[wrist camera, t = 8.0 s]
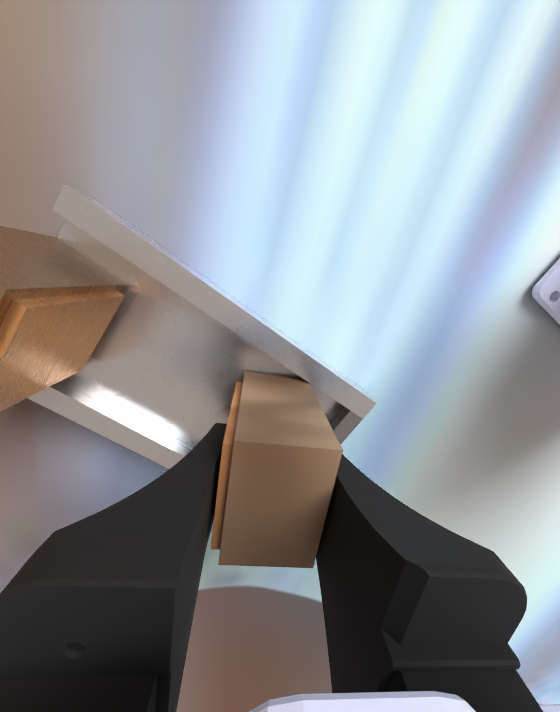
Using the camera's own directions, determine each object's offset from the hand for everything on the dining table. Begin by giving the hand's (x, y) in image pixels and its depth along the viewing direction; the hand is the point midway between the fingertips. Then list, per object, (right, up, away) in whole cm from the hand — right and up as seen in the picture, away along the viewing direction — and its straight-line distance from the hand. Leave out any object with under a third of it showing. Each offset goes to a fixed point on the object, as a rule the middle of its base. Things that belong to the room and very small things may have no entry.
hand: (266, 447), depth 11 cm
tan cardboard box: (0, +1, +2) cm, 2 cm away
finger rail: (-3, +3, +2) cm, 5 cm away
